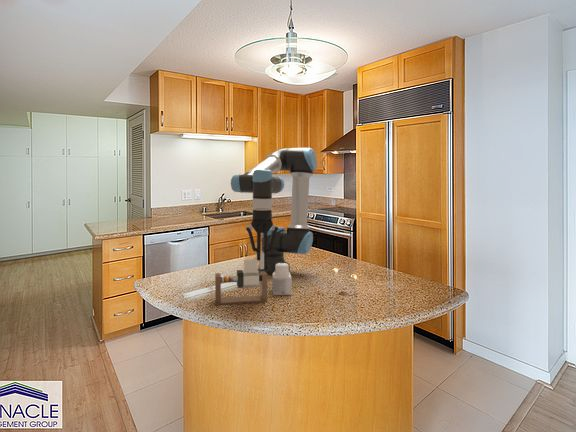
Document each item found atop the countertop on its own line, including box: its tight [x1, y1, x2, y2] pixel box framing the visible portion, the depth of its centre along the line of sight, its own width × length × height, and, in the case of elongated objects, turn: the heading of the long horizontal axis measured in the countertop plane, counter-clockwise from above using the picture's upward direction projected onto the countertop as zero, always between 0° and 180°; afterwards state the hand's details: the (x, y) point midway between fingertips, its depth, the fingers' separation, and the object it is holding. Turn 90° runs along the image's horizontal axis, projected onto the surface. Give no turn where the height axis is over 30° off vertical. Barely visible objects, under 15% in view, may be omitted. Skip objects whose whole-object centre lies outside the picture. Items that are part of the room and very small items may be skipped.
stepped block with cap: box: [241, 257, 260, 289], centre depth 136 cm, size 6×6×11 cm
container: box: [271, 261, 293, 296], centre depth 148 cm, size 8×8×13 cm
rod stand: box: [214, 271, 268, 306], centre depth 136 cm, size 20×6×11 cm, turn 102°
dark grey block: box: [236, 269, 244, 289], centre depth 136 cm, size 2×6×6 cm, turn 12°
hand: (261, 268), depth 137 cm, fingers closed
